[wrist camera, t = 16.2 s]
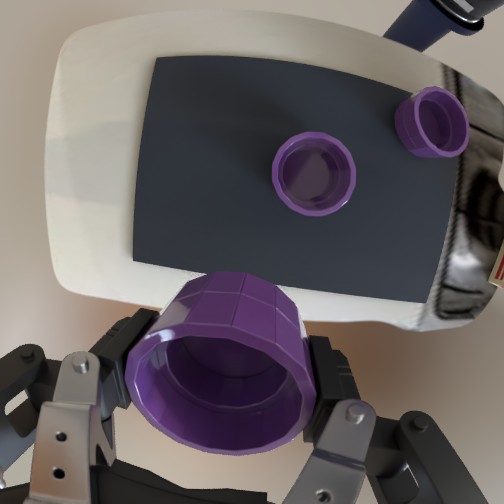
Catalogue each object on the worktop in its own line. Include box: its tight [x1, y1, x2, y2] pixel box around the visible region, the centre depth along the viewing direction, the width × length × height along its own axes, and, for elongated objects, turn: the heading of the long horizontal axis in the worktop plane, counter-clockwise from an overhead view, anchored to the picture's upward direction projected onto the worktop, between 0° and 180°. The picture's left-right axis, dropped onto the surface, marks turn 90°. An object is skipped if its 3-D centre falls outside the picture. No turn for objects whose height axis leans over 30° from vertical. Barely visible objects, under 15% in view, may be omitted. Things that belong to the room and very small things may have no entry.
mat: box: [133, 56, 458, 303], centre depth 22 cm, size 30×20×1 cm, turn 82°
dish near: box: [124, 271, 317, 456], centre depth 9 cm, size 6×6×4 cm
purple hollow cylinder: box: [395, 86, 470, 158], centre depth 18 cm, size 6×6×4 cm
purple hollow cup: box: [272, 132, 356, 216], centre depth 20 cm, size 6×6×4 cm
